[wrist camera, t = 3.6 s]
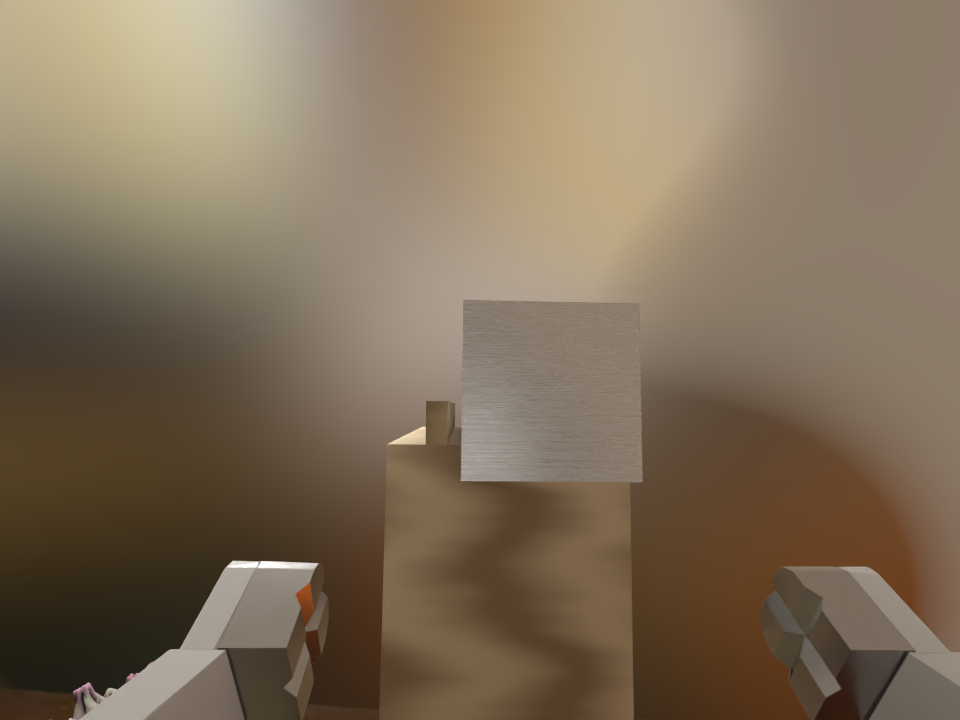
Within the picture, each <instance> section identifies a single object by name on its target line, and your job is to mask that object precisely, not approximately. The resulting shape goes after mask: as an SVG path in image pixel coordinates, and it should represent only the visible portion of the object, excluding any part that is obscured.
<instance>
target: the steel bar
mask: <svg viewBox="0 0 960 720" xmlns="http://www.w3.org/2000/svg"><path fill="white" fill-rule="evenodd" d="M639 321H640V319H639V304H638V303H587V302H534V301H480V300H479V301H478V300H476V301H475V300H464V305H463V370H462V436H461V481H530V482H642V429H641V377H640V376H641V373H640V322H639Z"/></svg>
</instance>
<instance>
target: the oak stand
mask: <svg viewBox="0 0 960 720" xmlns="http://www.w3.org/2000/svg"><path fill="white" fill-rule="evenodd" d="M461 436H462V427H455V404H454V403H451V402H448V401H426V427H421V428H419V429H417V430H415V431H413V432H411V433H409V434H407V435H405V436H403V437H401V438H399V439H397V440H395V441H393V442H391V443H389V444H387V474H386V475H387V476H386V510H385V544H384V580H383V614H382V648H381V683H380V684H381V685H380V717H379V720H634V715H633V714H634V713H633V712H634V711H633V650H632V649H633V648H632V592H631V590H632V587H631V586H632V584H631V526H630V525H631V524H630V523H631V522H630V482H530V481H461Z"/></svg>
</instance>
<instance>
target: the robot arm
mask: <svg viewBox="0 0 960 720" xmlns="http://www.w3.org/2000/svg"><path fill="white" fill-rule="evenodd" d="M324 579H325V577H324V572H323V566H322V564H319V563H294V562H266V561H263V562H254V561H233V562H231V563H230V564H229V565H228V566H227V567H226V568H225V569H224V571H223V573H222V575H221V576H220V578H219V580H218V582H217V584H216V585H215V587H214V589H213V591H212V593H211V594H210V596H209V598H208V600H207V602H206V603H205V605H204V607H203V609H202V610H201V612H200V614H199V616H198V618H197V619H196V621H195V623H194V625H193V626H192V628H191V630H190V632H189V634H188V635H187V637H186V639H185V641H184V643H183V644H182V646H181V648H180V649H175V650H174V649H173V650H169V651H168V652H166V653H165V654H164V655H162V656H161V657H160V658H158V660H156V661H155V662H153V663H152V664H151V665H149V666H148V667H147V668H146V669H144V670H143V671H142V672H140V673H139V674H138V675H136V676H135V677H134V678H133V679H131V680H130V681H129V682H127V683H126V684H125V685H124V686H122V687H121V688H120V689H118V690H117V691H116V692H114V693H113V694H112V695H110V696H109V697H108V698H107V699H105V700H104V701H103V702H101V703H100V704H99V705H97V706H96V707H95V708H94V709H92V710H91V711H90V712H88V713H87V714H86V715H84V716H83V717H82V718H81V719H79V720H303V717H304V713H305V710H306V706H307V703H308V699H309V696H310V692H311V689H312V685H313V682H314V680H313V673H312V667H311V664H312V663H313V662H314V661H315V660H316V659H317V658H318V657H319V656H320V655H321V653H322V650H323V646H324V642H325V638H326V632H327V625H328V599H327V596H326V595H325V594H324V593H323V592H322V591H321V588H322V585H323V582H324ZM771 582H772V584H773V586H774V587H775V589H776V591H775V592H774V593H772V594H771V595H770V596H768V597H767V598H766V599H765V600H764V603H763V606H762V609H761V612H760V617H761V628H762V632H763V635H764V637H765V640H766V643H767V645H768V646H769V648H770V650H771V652H772V654H773V655H774V657H776V658H777V659H778V660H779V661H781V662H782V663H783V664H784V665H786V666H787V667H788V668H789V669H790V675H789V683H790V685H791V687H792V688H793V690H794V692H795V694H796V695H797V697H798V699H799V700H800V702H801V704H802V706H803V707H804V709H805V711H806V712H807V714H808V716H809V718H810V719H811V720H960V653H958V652H950V651H949V650H948V649H947V648H946V647H945V646H944V645H943V644H942V643H941V642H940V641H939V640H938V638H937V637H936V636H935V635H934V634H933V633H932V632H931V631H930V630H929V629H928V628H927V626H926V625H925V624H924V623H923V622H922V621H921V620H920V619H919V618H918V617H917V616H916V614H915V613H914V612H913V611H912V610H911V609H910V608H909V607H908V606H907V605H906V604H905V602H904V601H902V599H901V598H900V597H899V596H898V595H897V594H896V593H895V592H894V591H893V589H892V588H891V587H890V586H889V585H888V584H887V583H886V582H885V581H884V580H883V579H882V578H881V576H880V575H879V574H877V573H876V572H875V571H873V570H872V569H870V568H868V567H781V568H780V569H779V570H777V571H776V572H775V574H774V577H773V579H772V581H771Z"/></svg>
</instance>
